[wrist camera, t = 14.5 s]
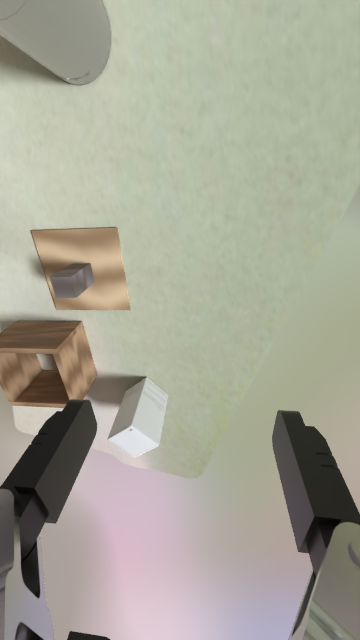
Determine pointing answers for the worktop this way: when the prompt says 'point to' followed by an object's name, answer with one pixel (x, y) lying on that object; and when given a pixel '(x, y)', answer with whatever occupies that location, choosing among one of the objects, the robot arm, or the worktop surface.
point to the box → (25, 370)
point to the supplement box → (139, 419)
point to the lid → (83, 268)
